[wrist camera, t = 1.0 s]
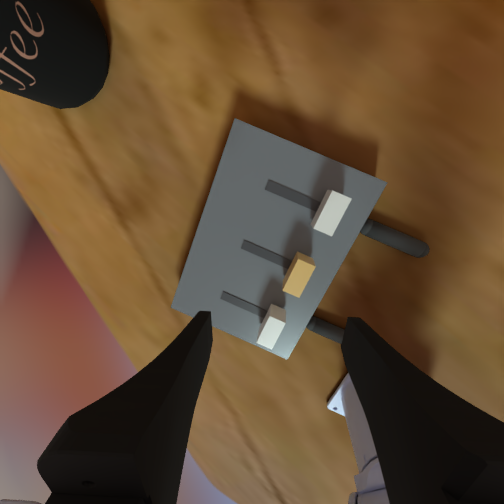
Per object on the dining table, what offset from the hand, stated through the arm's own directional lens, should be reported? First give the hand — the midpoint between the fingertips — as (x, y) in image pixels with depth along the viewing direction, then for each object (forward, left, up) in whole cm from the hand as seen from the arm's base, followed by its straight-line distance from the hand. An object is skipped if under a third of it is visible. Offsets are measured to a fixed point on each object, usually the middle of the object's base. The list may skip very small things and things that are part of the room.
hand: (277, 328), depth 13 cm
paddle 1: (-2, +6, -11) cm, 12 cm away
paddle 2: (-2, -6, -11) cm, 12 cm away
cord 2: (-9, +6, -14) cm, 18 cm away
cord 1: (-9, -6, -14) cm, 18 cm away
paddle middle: (-2, 0, -11) cm, 11 cm away
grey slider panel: (+2, 0, -14) cm, 14 cm away
